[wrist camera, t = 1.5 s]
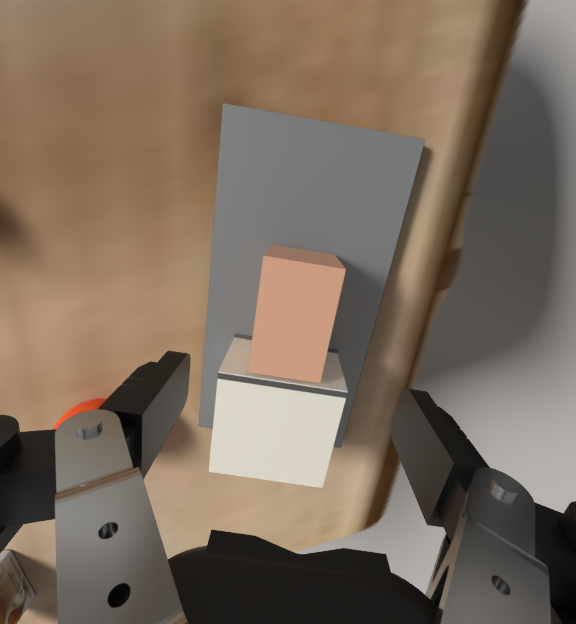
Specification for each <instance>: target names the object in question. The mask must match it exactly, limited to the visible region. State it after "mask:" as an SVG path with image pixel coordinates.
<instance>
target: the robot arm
mask: <svg viewBox="0 0 576 624" xmlns="http://www.w3.org/2000/svg"><path fill="white" fill-rule="evenodd" d="M189 373H190V354H187V353H181V352H174V351H167V352H166V353H165V355H164V356H163V357H162V358H161V359H160V360H159V361H158V362H157V363H156V362H149V363H147V364H145V365H143V366H141V367H138V368H137V369H136V370H135V371H134V372H133V373H132V374H131V375H130V376H129V378H127V379H126V380H125V381H124V382H123V383H122V385H120V386H119V387H118V388H117V389H116V390H115V391H114V392H113V393H112V394H111V395H110V396H109V397H108V399H107V400H106V401H105V402H104V403H103V404H102V405H101V406H100V407H99V408H98V409H97V410H88V411H84V412H80V413H78V414H75V415H73V416H71V417H69V418H67V419H66V420H65V421H63V422H62V423H61V424H60V425H59V426H58V428H57V429H53V430H41V431H29V432H20V429H19V423H18V421H17V420H16V419H15V418H13V417H11V416H7V415H0V553H1V552H2V551H3V549H4V548H5V547H6V546H7V544H8V543H9V542H10V541H11V539H12V538H13V537H14V535H15V534H16V533H17V532H18V530H19V529H20V528H21V527H22V525H23V524H27V523H33V522H39V521H45V520H51V519H55V528H56V570H57V612H58V624H576V502H571V503H570V504H569V506H568V507H567V509H566V511H565V512H564V514H563V513H560V512H558V511H555V510H553V509H550V508H547V507H545V506H542V505H540V504H537V503H534V500H533V498H532V496H531V495H530V494H529V493H528V491H527V490H526V489H525V488H524V487H523V486H522V485H521V484H520V483H518V482H517V481H516V480H515V479H513V478H512V477H510V476H508V475H507V474H505V473H503V472H500V471H498V470H496V469H492V468H490V467H489V466H488V465H487V463H486V462H485V461H484V460H483V458H482V457H481V455H480V454H479V453H478V451H477V450H476V448H475V447H474V446H473V444H472V443H471V442H470V440H469V439H467V436H466V435H465V434H464V432H463V431H462V430H460V427H459V426H458V425H457V423H456V422H455V420H454V419H453V418H452V417H451V416H450V415H449V414H448V413H446V412H445V411H444V410H443V409H442V408H440V407H437V405H436V404H435V403H434V401H433V399H432V398H431V397H430V395H429V394H428V393H427V392H426V391H420V390H413V389H407V388H406V389H404V390H403V391H402V393H401V396H400V399H399V402H398V405H397V408H396V411H395V414H394V417H393V420H392V424H391V438H392V441H393V443H394V446H395V448H396V451H397V453H398V455H399V458H400V460H401V463H402V465H403V468H404V470H405V472H406V475H407V477H408V480H409V482H410V485H411V487H412V489H413V492H414V494H415V497H416V499H417V502H418V504H419V506H420V509H421V511H422V514H423V516H424V519H425V521H426V523H427V525H432V526H438V527H444V529H445V531H446V535H445V537H444V539H443V541H442V544H441V547H440V551H439V554H438V557H437V560H436V563H435V566H434V570H433V573H432V576H431V579H430V582H429V586H428V589H427V592H426V595H425V594H423V593H422V592H421V591H420V590H419V589H417V588H416V587H414V586H413V585H412V584H410V583H409V582H408V581H406V580H404V579H403V578H401V577H399V576H397V575H395V574H393V573H391V571H390V567H389V564H388V560H387V556H386V554H380V553H374V552H367V551H360V550H352V549H345V548H342V549H336V550H329V551H323V552H316V553H309V554H297V553H294V552H292V551H289V550H287V549H285V548H282V547H280V546H278V545H275V544H273V543H271V542H268V541H266V540H264V539H261V538H259V537H257V536H253V535H246V534H239V533H232V532H224V531H217V530H211V534H210V537H209V541H208V545H207V546H202V547H197V548H194V549H190V550H187V551H184V552H182V553H180V554H177V555H175V556H173V557H172V558H170V559H167V556H166V553H165V550H164V546H163V543H162V540H161V537H160V533H159V530H158V527H157V523H156V520H155V517H154V514H153V510H152V507H151V504H150V500H149V497H148V494H147V491H146V487H145V484H144V481H143V479H144V477H145V476H146V474H147V472H148V470H149V469H150V467H151V465H152V463H153V461H154V460H155V458H156V456H157V454H158V452H159V451H160V449H161V447H162V445H163V444H164V442H165V440H166V438H167V436H168V435H169V433H170V431H171V429H172V427H173V426H174V424H175V422H176V420H177V419H178V417H179V415H180V413H181V411H182V410H183V408H184V406H185V403H186V400H187V396H188V388H189Z"/></svg>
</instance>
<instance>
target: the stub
mask: <svg viewBox="0 0 576 624" xmlns="http://www.w3.org/2000/svg"><path fill="white" fill-rule="evenodd" d="M345 271H346V269H345V267H344V266H343V265H342V263H341V262H340V261H339V259H338V258H337V257H336V256H335V255H333V254H327V253H321V252H315V251H309V250H303V249H297V248H291V247H285V246H279V245H273V244H271V245H270V246H269V248H268V249H267V251H266V252H265V254H264V255H263V262H262V270H261V277H260V285H259V292H258V300H257V307H256V315H255V322H254V330H253V337H252V345H251V352H250V360H249V367H248V372H250V373H257V374H263V375H270V376H276V377H283V378H289V379H296V380H302V381H309V382H315V383H320V382H321V377H322V373H323V368H324V364H325V360H326V355H327V351H328V346H329V342H330V338H331V333H332V329H333V324H334V320H335V316H336V311H337V307H338V302H339V298H340V293H341V289H342V285H343V280H344V276H345Z"/></svg>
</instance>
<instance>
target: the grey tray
mask: <svg viewBox="0 0 576 624" xmlns="http://www.w3.org/2000/svg"><path fill="white" fill-rule="evenodd" d="M424 143H425V139H420V138H414V137H409V136H403V135H398V134H392V133H386V132H381V131H375V130H370V129H364V128H359V127H353V126H347V125H342V124H336V123H331V122H325V121H319V120H314V119H308V118H303V117H297V116H291V115H286V114H280V113H275V112H269V111H263V110H258V109H252V108H247V107H241V106H235V105H230V104H224V103H223V111H222V124H221V137H220V150H219V163H218V176H217V189H216V202H215V215H214V228H213V241H212V254H211V268H210V281H209V294H208V307H207V320H206V333H205V346H204V359H203V372H202V385H201V398H200V411H199V424H198V426H199V427H206V428H213V432H212V442H211V452H210V463H209V472H215V473H222V474H229V475H236V476H243V477H250V478H257V479H264V480H271V481H278V482H285V483H292V484H299V485H306V486H313V487H320V488H322V487H323V483H324V480H325V476H326V472H327V468H328V465H329V461H330V457H331V453H332V449H333V446H334V447H341V445H342V441H343V437H344V434H345V430H346V426H347V423H348V419H349V416H350V412H351V408H352V405H353V401H354V397H355V394H356V390H357V386H358V383H359V379H360V375H361V372H362V368H363V365H364V361H365V357H366V354H367V350H368V346H369V343H370V339H371V335H372V332H373V328H374V325H375V321H376V317H377V314H378V310H379V306H380V303H381V299H382V295H383V292H384V288H385V284H386V281H387V277H388V274H389V270H390V266H391V263H392V259H393V255H394V252H395V248H396V244H397V241H398V237H399V234H400V230H401V226H402V223H403V219H404V215H405V212H406V208H407V204H408V201H409V197H410V193H411V190H412V186H413V183H414V179H415V175H416V172H417V168H418V164H419V161H420V157H421V153H422V150H423V146H424ZM271 244H273V245H279V246H285V247H291V248H297V249H303V250H309V251H315V252H321V253H327V254H333V255H335V256H336V257H337V258H338V259H339V261H340V262H341V263H342V265H343V266H344V267H345V269H346V271H345V276H344V280H343V285H342V289H341V293H340V298H339V302H338V307H337V311H336V316H335V320H334V324H333V329H332V333H331V338H330V342H329V346H328V351H327V355H326V360H325V364H324V368H323V373H322V377H321V382H320V383H315V382H309V381H302V380H296V379H289V378H283V377H276V376H270V375H263V374H257V373H250V372H248V367H249V360H250V352H251V345H252V337H253V330H254V322H255V315H256V307H257V300H258V292H259V285H260V277H261V270H262V262H263V255H264V254H265V252H266V251H267V249H268V248H269V246H270V245H271Z"/></svg>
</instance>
